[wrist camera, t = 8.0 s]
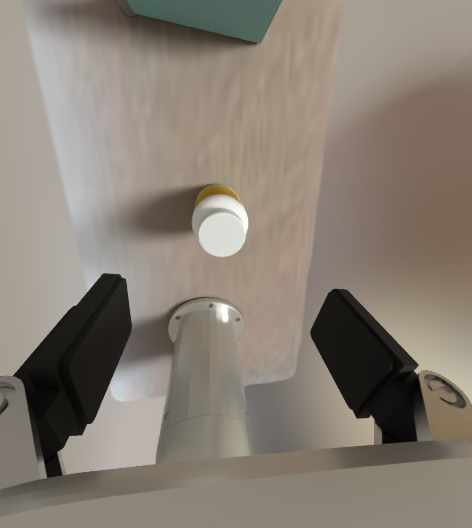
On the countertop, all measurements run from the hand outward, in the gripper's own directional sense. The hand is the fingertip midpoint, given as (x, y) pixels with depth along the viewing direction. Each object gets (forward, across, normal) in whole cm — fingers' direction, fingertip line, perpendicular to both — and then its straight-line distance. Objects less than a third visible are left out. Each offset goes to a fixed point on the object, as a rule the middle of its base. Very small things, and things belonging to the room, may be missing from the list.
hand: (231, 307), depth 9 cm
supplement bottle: (+18, 0, 0) cm, 18 cm away
